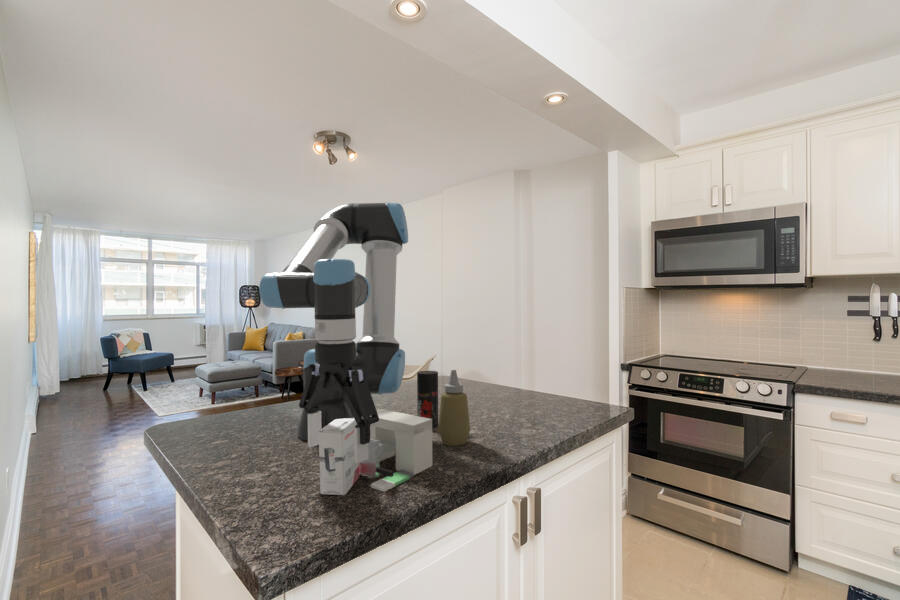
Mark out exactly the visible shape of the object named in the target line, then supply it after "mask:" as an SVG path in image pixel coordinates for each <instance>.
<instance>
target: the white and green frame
mask: <svg viewBox="0 0 900 600" xmlns="http://www.w3.org/2000/svg"><path fill="white" fill-rule="evenodd" d="M376 411H377V414H378V417H379V421H378V422H376V423H373V424H371V425H370V438H372V439H376V440H379V442H380V441H383V440H385V439H388V438H391V437H392V438H396V449H395V450H392V451H390V452H387V453H385V454H382V455H380V456H379V463H380V462H382V461H385V460H387V459H390V458H392V457H394V456H395V470H396V472H395V471H394V472H393V476H392V477H390V476H387V475H386V476H385V477H383V478H381V479H379V480H377V481H374V482H371V484H370V488H372V489H375V490H377V491H380V492H383V493H384V492H386V491H388V490H390V489H393V488H394V487H396V486H398V485H400V484H402V483H404V482H406V481H408V480H410V479H412V478H415V475H417V474H419V473H421V472H424V471H426V470H427V469H429V468H431V467H433V428H432V419H429V418H424V417H419V416H417V415H415V414H408V413H405V412H398V411H393V410H389V409H383V408H376ZM370 417H371V416H370ZM361 418H362V419H363V417H361Z"/></svg>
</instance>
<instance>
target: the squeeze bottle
mask: <svg viewBox="0 0 900 600" xmlns="http://www.w3.org/2000/svg"><path fill="white" fill-rule="evenodd" d="M467 396H468V395H467V394H466V393H465V392H464V384H462V383H459V379H458V374H457V370H456V369H451V371H450V375H449V380H448V383H445V384H444V393H442V394H441V395H440V401H439V402H440V404H439V413H438V426H437V430H438V433H439V436H440V438H441V441H442V444H444V445H446V446H454V447H455V446H457V447H458V446H462V445H464V444H466V443H467V441H468V437H469V434H470V430H471V422H470V413H469V405H468V397H467Z"/></svg>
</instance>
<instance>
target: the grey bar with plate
mask: <svg viewBox="0 0 900 600" xmlns="http://www.w3.org/2000/svg"><path fill="white" fill-rule="evenodd" d="M368 446H369V459H367V460H364V461H362V462H360V463H359V474H360V473H361V474H364V475H367V476H370V477H372V478H378V477H380V474H381V475H384V476H386V477H387V476H390V477H392V476H393V473H394V471H392V470H388V469H387V468H386V469H385V468H382V467H380V462H379V456H380V455H382V454H385V453H387V452H390V451H392V450H395V451H396V437H395V438H392V437H391V438H388V439H385V440H383V441H380V442H379V440H376V439H372V438H370V442H369V443H368Z"/></svg>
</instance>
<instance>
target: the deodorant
mask: <svg viewBox="0 0 900 600" xmlns="http://www.w3.org/2000/svg"><path fill="white" fill-rule="evenodd" d="M416 376H417V377H416V379H417V381H416V388H417V389H416V393H417V394H416V395H417V396H416V397H417V399H416V401H417V405H416V407H417V412H416V413H417V415H416V416H419V417H424V418H429V419H432V429H433V428H436V427H437V428H438V425H439V371H436V370H420V371H417V372H416Z"/></svg>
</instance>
